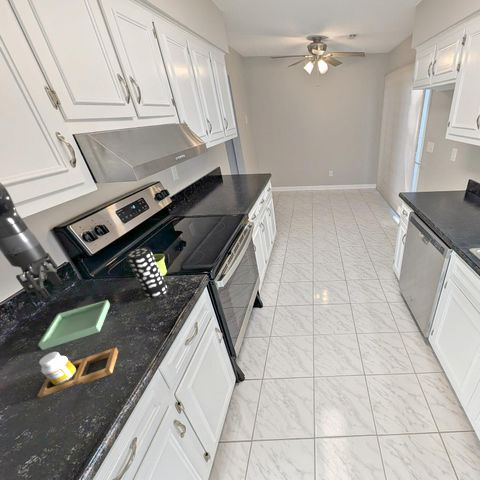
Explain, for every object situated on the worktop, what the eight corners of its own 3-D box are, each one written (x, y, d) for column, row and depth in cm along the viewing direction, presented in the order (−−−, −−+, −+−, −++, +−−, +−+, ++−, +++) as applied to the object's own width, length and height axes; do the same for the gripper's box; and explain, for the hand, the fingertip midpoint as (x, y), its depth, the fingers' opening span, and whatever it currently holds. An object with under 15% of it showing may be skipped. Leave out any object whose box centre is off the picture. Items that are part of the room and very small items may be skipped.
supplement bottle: (69, 369, 78) (52, 348, 73) (83, 372, 76) (66, 350, 72) (50, 386, 73) (29, 365, 68) (64, 389, 72) (44, 367, 67)
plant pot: (144, 278, 119) (136, 262, 115) (162, 267, 126) (156, 252, 122) (156, 282, 115) (149, 266, 111) (174, 271, 123) (168, 255, 118)
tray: (42, 350, 85) (37, 344, 84) (61, 318, 98) (57, 313, 97) (99, 331, 91) (96, 326, 89) (110, 304, 103) (107, 299, 102)
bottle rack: (41, 400, 70) (37, 395, 69) (54, 373, 77) (51, 369, 76) (112, 373, 75) (109, 369, 74) (118, 351, 82) (115, 347, 81)
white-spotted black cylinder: (158, 299, 104) (138, 258, 95) (141, 298, 106) (120, 257, 96) (171, 286, 111) (155, 247, 102) (155, 285, 113) (137, 246, 103)
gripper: (16, 240, 77) (46, 282, 85) (-13, 262, 66) (25, 308, 73) (48, 234, 80) (74, 275, 88) (25, 254, 68) (58, 300, 76)
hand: (52, 290), depth 81 cm, fingers open, 8 cm apart
